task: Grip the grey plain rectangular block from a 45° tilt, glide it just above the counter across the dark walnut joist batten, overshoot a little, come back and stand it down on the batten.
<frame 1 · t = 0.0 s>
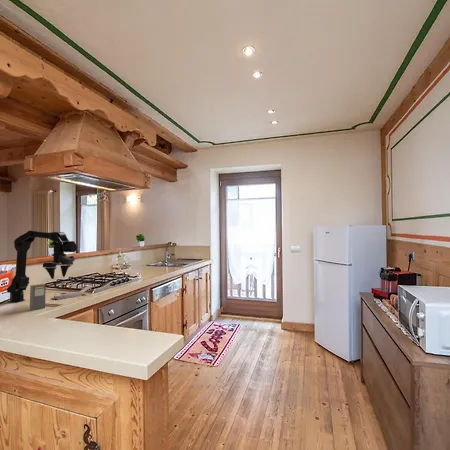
hand: (58, 277, 164), 15 cm above the worktop, tool pointing down, fingers open, 9 cm apart
mobile phone: (72, 297, 180), on the worktop
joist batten: (50, 305, 155), on the worktop
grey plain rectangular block: (37, 308, 148), on the worktop
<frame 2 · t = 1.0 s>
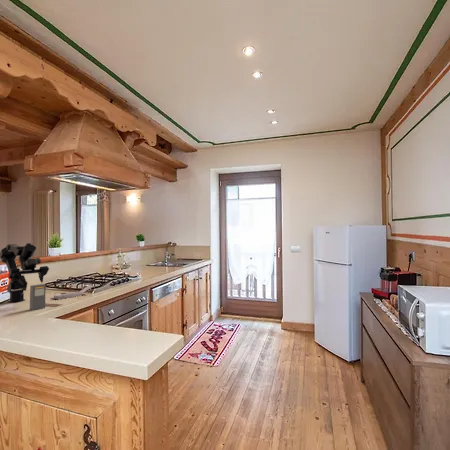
hand: (33, 283, 153), 13 cm above the worktop, tool tilted 45°, fingers open, 9 cm apart
nothing on the worktop moved.
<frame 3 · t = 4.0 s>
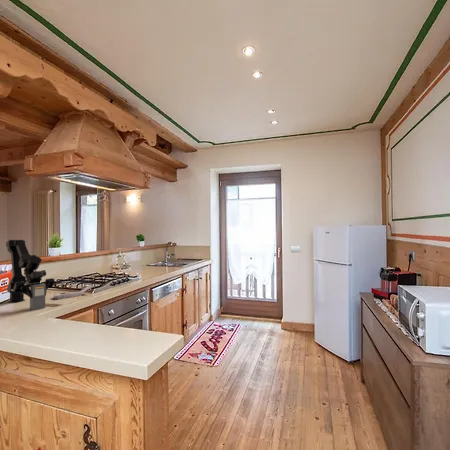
hand: (38, 296, 147), 7 cm above the worktop, tool tilted 45°, fingers closed on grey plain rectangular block, 6 cm apart
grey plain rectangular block: (37, 308, 148), on the worktop, touching gripper
everything else where it was.
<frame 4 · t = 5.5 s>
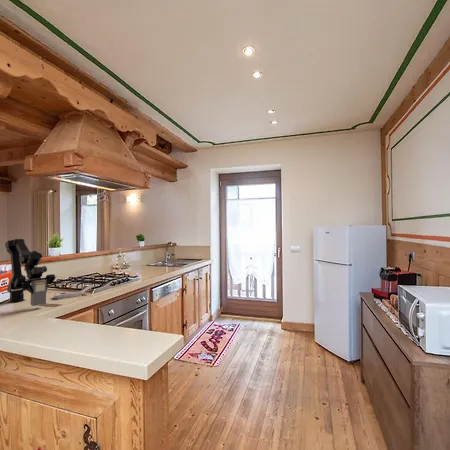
hand: (39, 292, 148), 9 cm above the worktop, tool tilted 45°, fingers closed on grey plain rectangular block, 6 cm apart
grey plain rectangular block: (38, 304, 148), point 2 cm above the worktop, touching gripper
everything else where it was.
when the fingers open (8 cm above the worktop, at t = 10.4 s): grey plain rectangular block stays where it is, resting on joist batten.
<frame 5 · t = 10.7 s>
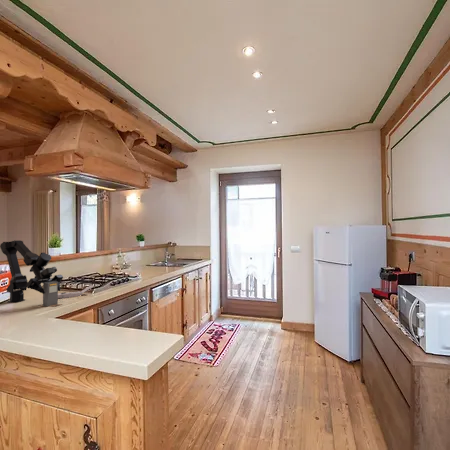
hand: (52, 291, 155), 8 cm above the worktop, tool tilted 45°, fingers open, 9 cm apart
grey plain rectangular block: (50, 304, 156), resting on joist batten
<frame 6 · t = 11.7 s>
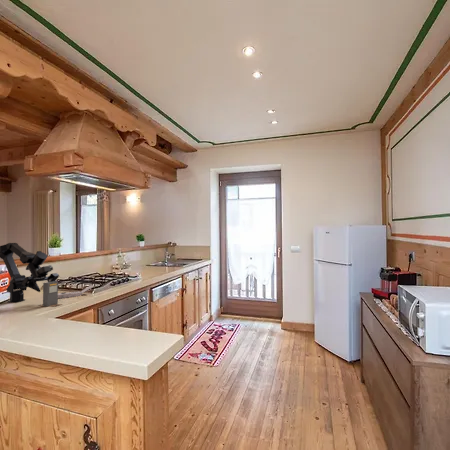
hand: (47, 290, 157), 8 cm above the worktop, tool tilted 45°, fingers open, 9 cm apart
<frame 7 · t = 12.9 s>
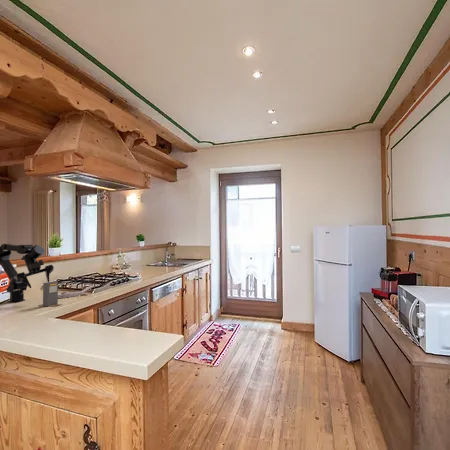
hand: (40, 285, 160), 11 cm above the worktop, tool tilted 30°, fingers open, 9 cm apart
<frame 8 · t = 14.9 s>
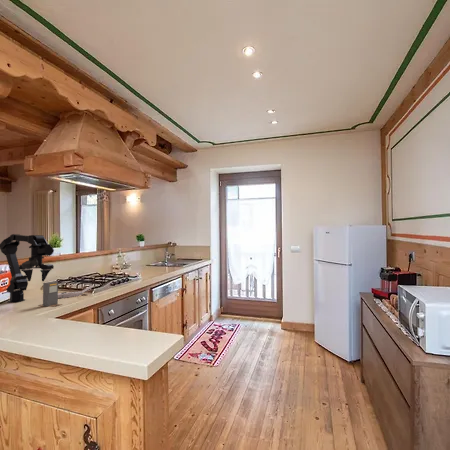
hand: (36, 281, 163), 13 cm above the worktop, tool pointing down, fingers open, 9 cm apart
at the end: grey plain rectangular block 0.0 cm off-centre on the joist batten, point 0.2 cm above the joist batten's base; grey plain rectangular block tilted 0°; the gripper is holding nothing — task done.
